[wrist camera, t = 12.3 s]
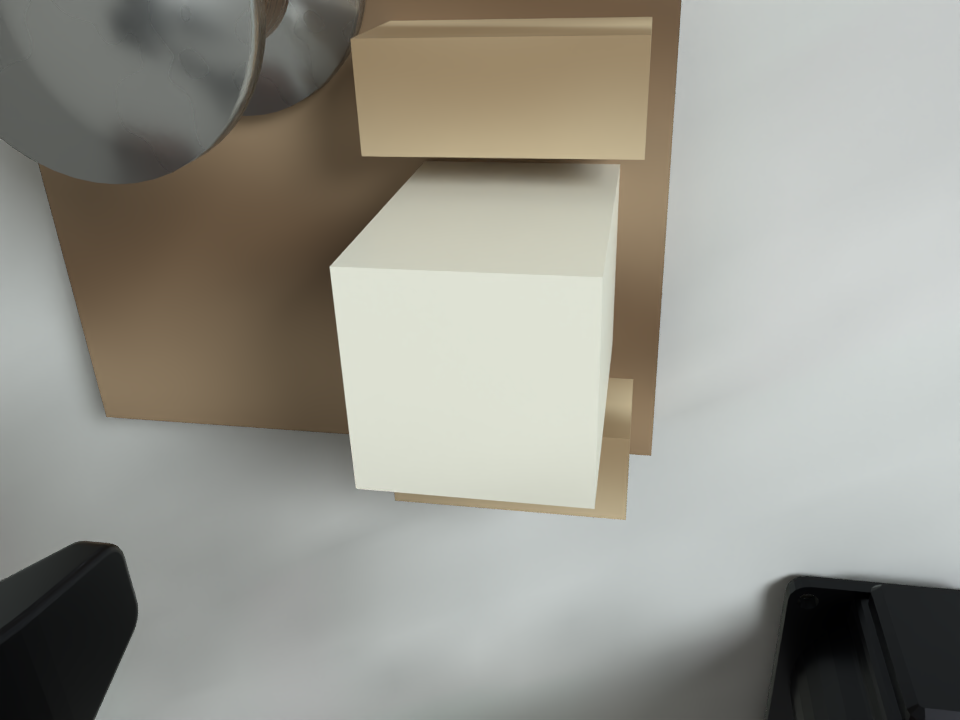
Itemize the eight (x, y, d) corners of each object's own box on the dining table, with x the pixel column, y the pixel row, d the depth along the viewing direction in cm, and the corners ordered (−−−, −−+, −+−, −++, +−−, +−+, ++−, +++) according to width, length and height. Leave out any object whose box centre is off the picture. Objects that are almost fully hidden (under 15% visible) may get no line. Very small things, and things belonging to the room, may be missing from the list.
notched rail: (629, 453, 20) (625, 519, 18) (422, 439, 21) (394, 500, 19) (652, 16, 16) (651, 34, 14) (390, 20, 17) (350, 38, 15)
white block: (612, 344, 19) (594, 509, 14) (435, 335, 20) (356, 488, 15) (619, 164, 17) (602, 277, 12) (425, 160, 18) (329, 266, 13)
